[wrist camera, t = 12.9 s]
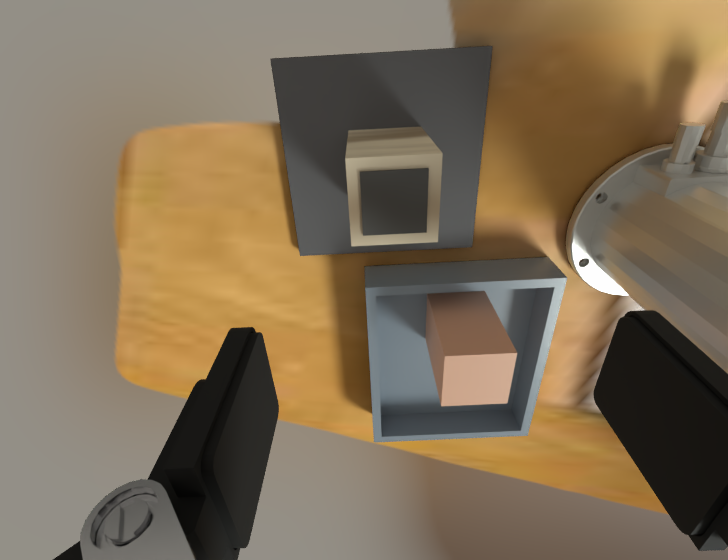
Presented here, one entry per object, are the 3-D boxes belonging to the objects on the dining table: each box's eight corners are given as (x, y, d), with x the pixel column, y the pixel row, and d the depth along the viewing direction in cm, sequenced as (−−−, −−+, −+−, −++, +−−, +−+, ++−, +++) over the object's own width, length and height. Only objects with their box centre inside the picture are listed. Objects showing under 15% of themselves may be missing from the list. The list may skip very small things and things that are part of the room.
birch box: (348, 130, 27) (345, 159, 20) (420, 126, 27) (443, 154, 20) (353, 200, 29) (351, 247, 22) (419, 196, 29) (438, 243, 22)
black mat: (272, 58, 25) (270, 58, 25) (488, 45, 25) (492, 45, 24) (301, 251, 32) (300, 255, 32) (469, 242, 32) (472, 247, 32)
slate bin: (364, 266, 33) (365, 287, 30) (548, 256, 33) (567, 277, 30) (372, 414, 43) (374, 442, 40) (515, 408, 43) (527, 435, 40)
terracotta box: (427, 293, 34) (444, 356, 27) (484, 290, 34) (517, 352, 27) (425, 338, 36) (441, 406, 29) (479, 336, 36) (507, 403, 29)
